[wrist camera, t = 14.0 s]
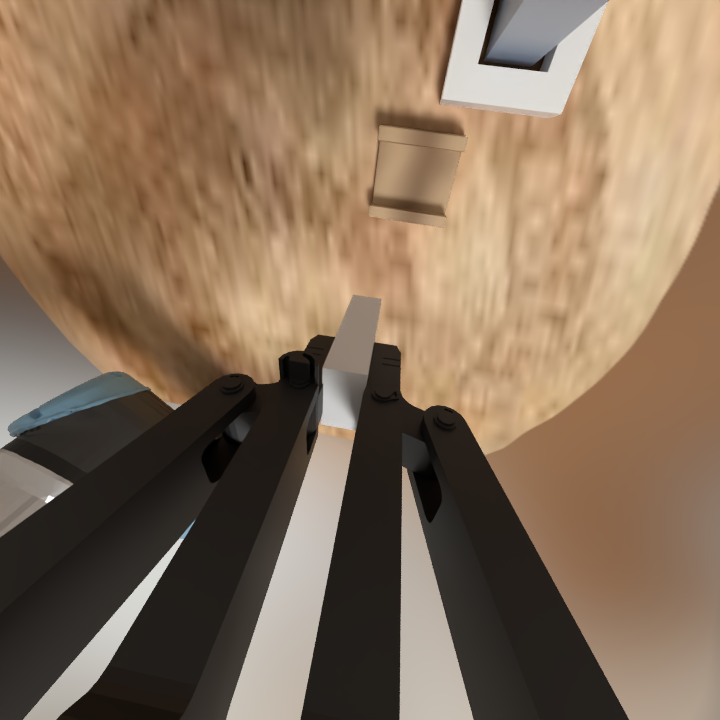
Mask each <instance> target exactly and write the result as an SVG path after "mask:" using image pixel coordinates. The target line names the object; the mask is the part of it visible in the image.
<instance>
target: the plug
mask: <svg viewBox="0 0 720 720" xmlns="http://www.w3.org/2000/svg"><path fill="white" fill-rule="evenodd" d="M608 1H609V0H500V2H499V6H498V9H497V13H496V17H495V21H494V24H493V28H492V32H491V36H490V39H489V43H488V47H487V51H486V55H485V58H484V62H493V63H501V64H510V65H518V66H527V67H532V66H533V65H534V64H535V63H536V62H537V61H539V60H540V59H541V58H542V57H543V56H544V55H546V54H547V53H548V52H549V51H550V50H552V49H553V48H554V47H555V46H556V45H557V44H559V43H560V42H561V41H562V40H563V39H564V38H566V37H567V36H568V35H569V34H570V33H571V32H573V31H574V30H575V29H576V28H577V27H578V26H580V25H581V24H582V23H583V22H584V21H585V20H587V19H588V18H589V17H590V16H591V15H592V14H594V13H595V12H596V11H597V10H598V9H600V8H601V7H602V6H603V5H604V4H605V3H607V2H608Z"/></svg>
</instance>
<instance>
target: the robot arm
mask: <svg viewBox="0 0 720 720" xmlns="http://www.w3.org/2000/svg"><path fill="white" fill-rule="evenodd" d="M380 306H381V299H378V298H371V297H365V296H358V295H353V297H352V299H351V301H350V304H349V306H348V308H347V311H346V313H345V316H344V318H343V320H342V323H341V325H340V327H339V330H338V332H337V335H336V337H330V336H324V335H317V336H315V337H314V338H312V339H311V340H310V342H309V343H308V345H307V348H306V349H305V350H304V351H292V352H288V353H286V354H284V355H282V356H281V357H280V358H279V370H280V380H279V382H277V383H272V384H260V385H255V384H254V381H253V379H252V378H251V377H249V376H248V375H244V374H230V375H226V376H223V377H221V378H219V379H217V380H216V381H214V382H213V383H211V384H210V385H209V386H207V387H206V388H205V389H203V390H202V391H200V392H199V393H198V394H196V395H195V396H194V397H192V398H191V399H189V400H188V401H187V402H185V403H184V404H183V405H181V406H180V407H178V408H177V409H176V410H173V409H172V408H171V407H170V406H169V405H167V404H166V403H165V402H164V401H162V400H161V399H160V398H159V397H157V396H156V395H155V394H154V393H153V392H151V391H150V390H151V389H150V388H149V387H145V386H144V385H142V384H141V383H139V382H138V381H137V380H135V379H134V378H132V377H131V376H130V375H128V374H126V373H123V372H109V373H105V374H103V375H100V376H98V377H96V378H93V379H91V380H89V381H87V382H85V383H83V384H81V385H79V386H77V387H75V388H73V389H71V390H69V391H67V392H65V393H63V394H61V395H59V396H57V397H55V398H54V399H52V400H50V401H48V402H46V403H44V404H43V405H41V406H40V407H39V408H37V409H34V410H33V411H31V412H30V413H28V414H25V415H23V416H22V417H20V418H19V419H17V420H15V421H14V422H13V423H11V424H10V425H9V427H8V431H9V432H10V436H12V437H15V436H16V437H17V438H16V439H14V440H13V441H12V442H10V443H8V444H7V445H5V446H4V447H3V448H1V449H0V720H23V719H24V717H25V716H26V715H27V714H28V713H29V712H30V711H31V709H32V708H33V707H34V706H35V705H36V704H37V702H38V701H39V700H40V699H41V698H42V696H43V695H44V694H45V693H46V692H47V691H48V690H49V689H50V687H51V686H52V685H53V684H54V683H55V682H56V680H57V679H58V678H59V677H60V676H61V675H62V673H63V672H64V671H65V670H66V669H67V668H68V666H69V665H70V664H71V663H72V662H73V660H75V658H76V657H77V656H78V655H79V654H80V653H81V651H82V650H83V649H84V648H85V647H86V646H87V645H88V643H89V642H90V641H91V640H92V639H93V638H94V636H95V635H96V634H97V633H98V632H99V631H100V629H101V628H102V627H103V626H104V625H105V624H106V622H107V621H108V620H109V619H110V618H111V617H112V616H113V614H114V613H115V612H116V611H117V610H118V609H119V607H120V606H121V605H122V604H123V603H124V602H125V600H126V599H127V598H128V597H129V596H130V595H131V594H132V592H133V591H134V590H135V589H136V588H137V586H138V585H139V584H140V583H141V582H142V581H143V580H144V579H145V577H146V576H147V575H148V574H149V572H151V570H152V569H153V568H154V567H155V566H156V565H157V563H158V562H159V561H160V560H161V559H162V557H164V555H165V554H166V553H167V552H168V551H169V550H170V548H171V547H172V546H173V545H174V544H175V543H176V541H177V540H178V539H179V538H182V539H184V540H183V541H182V543H181V545H180V547H179V548H178V550H177V551H176V553H175V555H174V556H173V558H172V560H171V561H170V563H169V565H168V566H167V568H166V570H165V572H164V573H163V575H162V577H161V578H160V580H159V581H158V583H157V585H156V586H155V588H154V590H153V591H152V593H151V595H150V596H149V598H148V600H147V601H146V603H145V605H144V606H143V608H142V610H141V611H140V613H139V615H138V616H137V618H136V620H135V621H134V623H133V625H132V626H131V628H130V630H129V631H128V633H127V635H126V636H125V638H124V640H123V641H122V643H121V645H120V646H119V648H118V650H117V651H116V653H115V655H114V656H113V658H112V660H111V661H110V663H109V665H108V666H107V668H106V669H105V671H104V672H103V674H102V675H101V676H100V678H99V679H98V681H97V682H96V683H95V684H94V685H93V687H92V688H91V689H90V690H89V691H88V692H87V693H86V694H85V695H84V696H82V697H81V698H80V699H79V700H78V701H76V702H75V703H74V704H73V705H72V706H71V707H69V708H68V709H67V710H66V711H65V712H64V713H62V714H61V715H60V716H59V717H58V719H57V720H226V717H227V713H228V710H229V707H230V703H231V700H232V697H233V694H234V691H235V688H236V685H237V682H238V679H239V676H240V673H241V670H242V666H243V663H244V660H245V657H246V654H247V651H248V648H249V645H250V642H251V639H252V636H253V633H254V630H255V627H256V624H257V621H258V617H259V614H260V611H261V608H262V605H263V602H264V599H265V596H266V593H267V590H268V587H269V584H270V581H271V578H272V575H273V572H274V569H275V565H276V562H277V559H278V556H279V553H280V550H281V547H282V544H283V541H284V538H285V535H286V532H287V529H288V526H289V523H290V519H291V516H292V513H293V510H294V507H295V504H296V501H297V498H298V495H299V492H300V488H301V486H302V482H303V480H304V477H305V474H306V470H307V467H308V464H309V461H310V458H311V455H312V452H313V449H314V446H315V443H316V440H317V437H318V425H319V422H320V419H321V424H322V425H328V426H333V427H339V428H345V429H351V430H356V433H355V438H354V444H353V449H352V454H351V459H350V464H349V470H348V475H347V480H346V485H345V491H344V496H343V501H342V506H341V511H340V517H339V522H338V528H337V532H336V538H335V543H334V548H333V553H332V558H331V564H330V569H329V574H328V579H327V585H326V590H325V595H324V600H323V605H322V611H321V616H320V621H319V626H318V632H317V637H316V642H315V647H314V653H313V658H312V663H311V668H310V674H309V679H308V684H307V689H306V694H305V699H304V705H303V710H302V715H301V720H399V713H400V712H399V710H400V613H401V516H402V510H401V509H402V466H403V467H405V468H407V472H408V475H409V479H410V483H411V487H412V490H413V494H414V498H415V502H416V505H417V509H418V513H419V517H420V520H421V524H422V528H423V532H424V535H425V539H426V543H427V547H428V550H429V554H430V558H431V561H432V565H433V569H434V573H435V576H436V580H437V584H438V588H439V591H440V595H441V599H442V602H443V606H444V610H445V614H446V618H447V621H448V625H449V629H450V633H451V636H452V640H453V643H454V647H455V651H456V654H457V659H458V662H459V666H460V670H461V673H462V677H463V681H464V684H465V689H466V692H467V696H468V700H469V704H470V707H471V711H472V715H473V719H474V720H629V719H628V717H627V715H626V713H625V711H624V710H623V708H622V706H621V704H620V702H619V700H618V699H617V697H616V695H615V693H614V691H613V690H612V688H611V686H610V684H609V682H608V680H607V678H606V677H605V675H604V673H603V671H602V669H601V668H600V666H599V664H598V662H597V660H596V659H595V657H594V655H593V653H592V651H591V649H590V647H589V646H588V644H587V642H586V640H585V638H584V636H583V635H582V633H581V631H580V629H579V627H578V626H577V624H576V622H575V620H574V618H573V616H572V615H571V613H570V611H569V609H568V607H567V605H566V604H565V602H564V600H563V598H562V596H561V594H560V593H559V591H558V589H557V587H556V586H555V583H554V582H553V580H552V578H551V576H550V574H549V573H548V571H547V569H546V567H545V565H544V563H543V562H542V560H541V558H540V556H539V554H538V552H537V551H536V549H535V547H534V545H533V543H532V541H531V540H530V538H529V536H528V534H527V532H526V530H525V529H524V527H523V525H522V523H521V522H520V520H519V518H518V516H517V514H516V512H515V510H514V509H513V507H512V505H511V503H510V501H509V499H508V498H507V496H506V494H505V492H504V491H503V489H502V487H501V485H500V483H499V481H498V479H497V478H496V476H495V474H494V472H493V470H492V469H491V467H490V465H489V463H488V461H487V459H486V457H485V456H484V454H483V452H482V450H481V448H480V446H479V445H478V443H477V441H476V439H475V437H474V435H473V434H472V432H471V430H470V428H469V426H468V425H467V423H466V421H465V419H464V418H463V417H462V416H461V414H459V413H458V412H456V411H455V410H453V409H451V408H448V407H446V406H439V405H437V406H431V407H430V408H428V409H427V410H426V411H424V410H421V409H419V408H416V407H414V406H413V405H411V404H409V403H408V402H407V401H406V400H405V399H404V398H403V397H402V394H401V392H400V370H401V368H400V366H401V362H400V361H401V352H400V351H399V349H398V348H397V346H394V345H388V344H381V343H375V339H376V332H377V325H378V319H379V312H380Z"/></svg>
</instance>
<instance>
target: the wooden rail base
mask: <svg viewBox="0 0 720 720" xmlns="http://www.w3.org/2000/svg"><path fill="white" fill-rule="evenodd" d="M378 140H379V141H380V146H379V154H378V162H377V170H376V178H375V186H374V194H373V202H372V204H371V205H370V209H369V216H371V217H377V218H383V219H389V220H396V221H402V222H408V223H415V224H421V225H428V226H434V227H440V228H444V225H445V221H446V216H445V212H446V208H447V204H448V201H449V197H450V193H451V189H452V186H453V182H454V178H455V174H456V171H457V167H458V163H459V160H460V156H461V152H464V151H465V148H466V144H467V141H468V137H466V135H461V134H454V133H446V132H439V131H431V130H424V129H416V128H409V127H402V126H394V125H387V124H382V126H379V134H378Z"/></svg>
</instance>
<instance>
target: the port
mask: <svg viewBox="0 0 720 720" xmlns="http://www.w3.org/2000/svg"><path fill="white" fill-rule="evenodd" d="M493 3H494V0H462V1H461V6H460V10H459V15H458V20H457V24H456V29H455V34H454V38H453V43H452V48H451V53H450V57H449V62H448V67H447V71H446V76H445V81H444V86H443V90H442V95H441V100H440V104H442V105H449V106H457V107H465V108H473V109H480V110H488V111H496V112H504V113H511V114H519V115H527V116H535V117H543V118H552V117H554V116H557V115H560V114H561V113H562V111H563V108H564V106H565V104H566V101H567V99H568V96H569V94H570V92H571V89H572V87H573V84H574V82H575V80H576V77H577V75H578V72H579V70H580V67H581V65H582V63H583V60H584V58H585V55H586V53H587V51H588V48H589V46H590V43H591V41H592V38H593V36H594V34H595V31H596V29H597V26H598V24H599V22H600V19H601V17H602V14H603V12H604V10H605V7H606V5H607V3H605V4H604V5H603V6H602V7H601V8H600V9H598V10H597V11H596V12H595V13H594V14H592V15H591V16H590V17H589V18H588V19H587V20H585V21H584V22H583V23H582V24H581V25H580V26H578V27H577V28H576V29H575V30H574V31H573V32H571V33H570V34H569V35H568V36H567V37H566V38H564V39H563V40H562V41H561V42H560V43H559V44H557V45H556V46H555V47H554V48H553V49H552V50H550V51H549V52H548V53H547V54H546V55H545V57H544V60H543V63H542V66H541V69H540V71H531V70H523V69H514V68H506V67H497V66H489V65H480V64H478V61H479V58H480V54H481V50H482V46H483V42H484V38H485V34H486V30H487V27H488V23H489V19H490V15H491V11H492V7H493Z"/></svg>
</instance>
